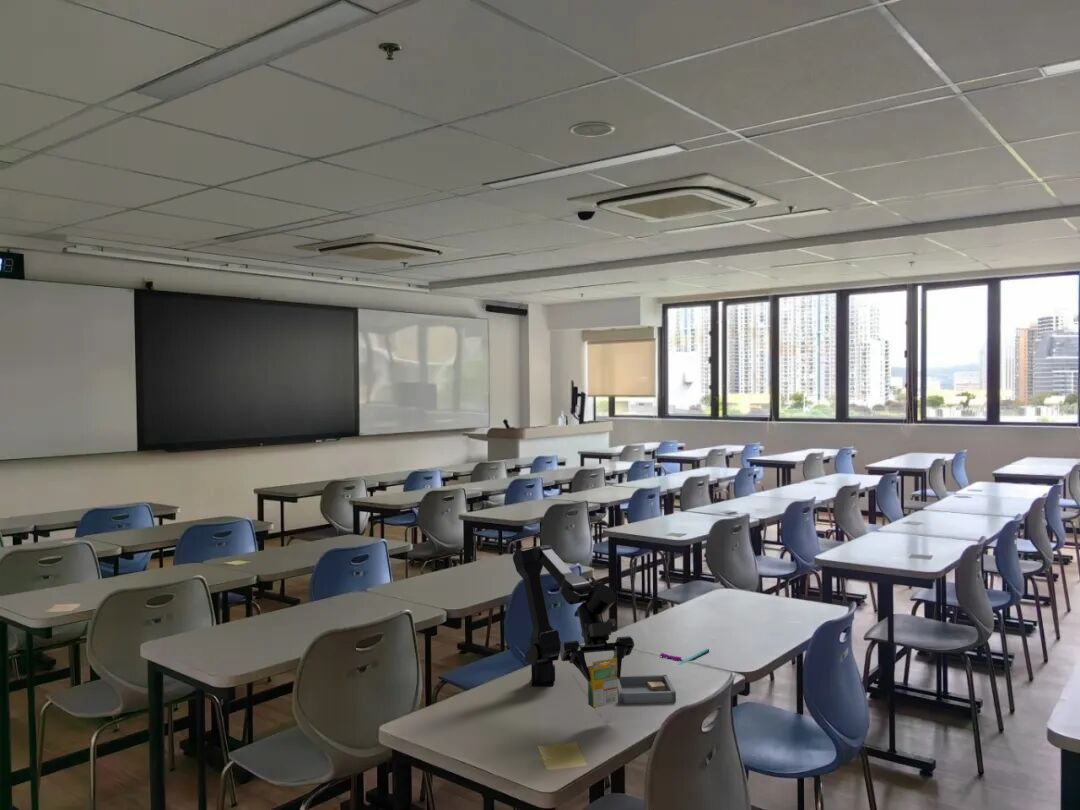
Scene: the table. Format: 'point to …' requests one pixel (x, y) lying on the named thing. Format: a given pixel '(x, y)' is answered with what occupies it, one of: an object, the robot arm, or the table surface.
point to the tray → (644, 689)
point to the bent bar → (684, 659)
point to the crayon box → (603, 683)
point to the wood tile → (656, 685)
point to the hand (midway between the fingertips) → (604, 679)
